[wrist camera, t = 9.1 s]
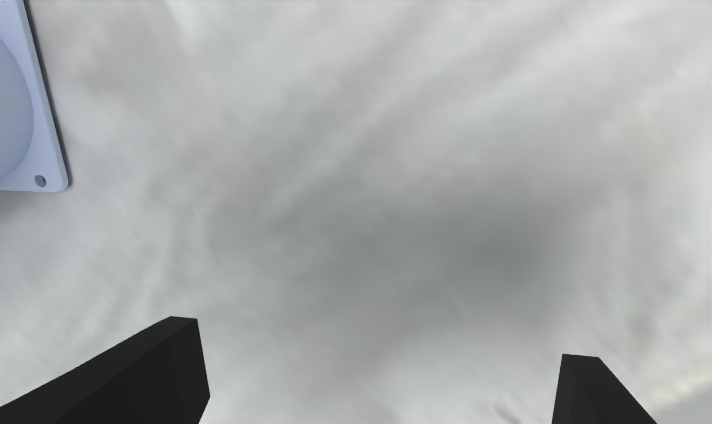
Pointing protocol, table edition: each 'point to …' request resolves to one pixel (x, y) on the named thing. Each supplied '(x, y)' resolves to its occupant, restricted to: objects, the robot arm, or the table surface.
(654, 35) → the table surface
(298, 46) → the table surface
